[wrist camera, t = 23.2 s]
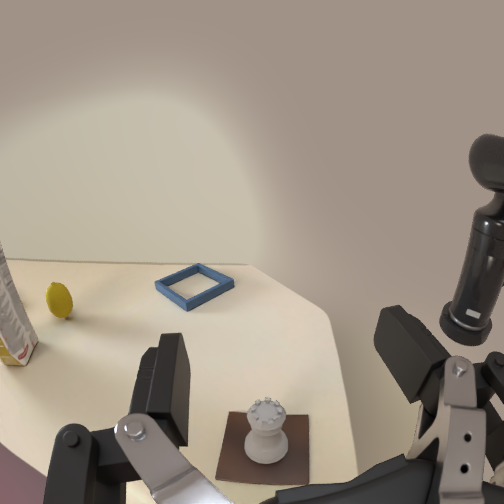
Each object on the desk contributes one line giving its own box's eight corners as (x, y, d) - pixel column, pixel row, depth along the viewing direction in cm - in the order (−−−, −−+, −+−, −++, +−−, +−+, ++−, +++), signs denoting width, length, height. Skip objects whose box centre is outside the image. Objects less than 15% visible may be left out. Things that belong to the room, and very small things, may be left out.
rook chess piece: (281, 469, 20) (286, 436, 17) (238, 459, 22) (230, 423, 18) (292, 435, 24) (299, 394, 21) (252, 427, 25) (249, 384, 22)
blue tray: (199, 269, 62) (198, 262, 62) (234, 286, 55) (233, 278, 54) (156, 289, 55) (154, 281, 54) (187, 311, 47) (185, 303, 47)
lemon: (53, 327, 41) (38, 292, 37) (56, 313, 45) (43, 279, 42) (76, 322, 43) (62, 286, 40) (78, 307, 47) (66, 273, 44)
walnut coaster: (229, 413, 28) (229, 411, 28) (307, 416, 27) (308, 414, 27) (215, 479, 20) (215, 478, 19) (308, 484, 19) (308, 483, 18)
